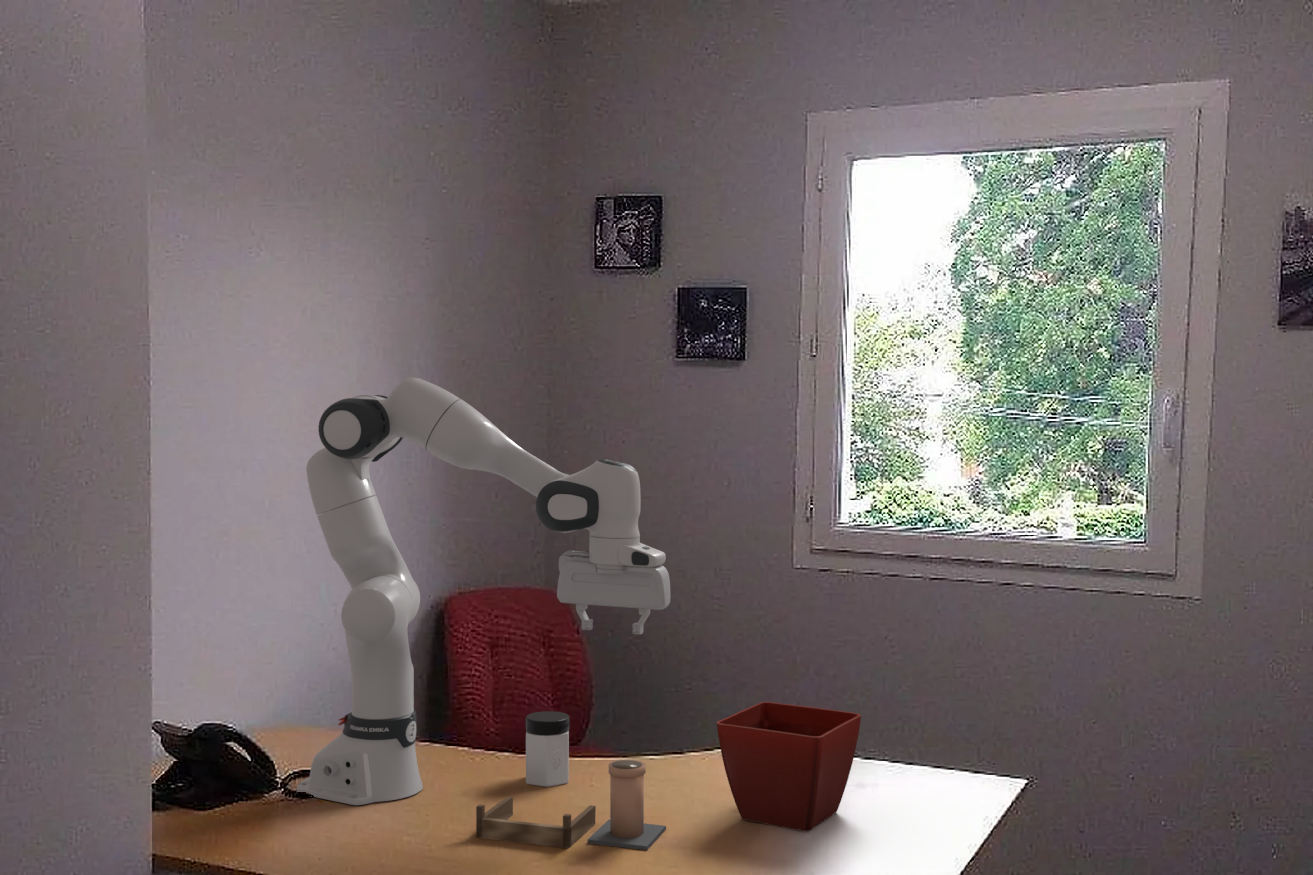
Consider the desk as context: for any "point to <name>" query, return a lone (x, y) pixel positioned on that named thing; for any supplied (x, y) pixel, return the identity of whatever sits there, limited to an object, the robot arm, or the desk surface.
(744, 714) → the plant pot
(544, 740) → the jar
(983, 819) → the desk surface
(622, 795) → the pot
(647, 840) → the mat
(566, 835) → the low fence
